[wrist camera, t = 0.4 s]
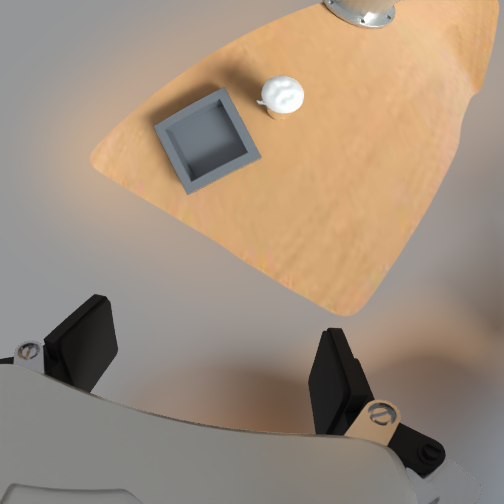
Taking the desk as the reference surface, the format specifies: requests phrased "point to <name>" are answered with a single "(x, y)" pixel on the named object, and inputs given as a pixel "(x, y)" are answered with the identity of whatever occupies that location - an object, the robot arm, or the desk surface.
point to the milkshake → (281, 96)
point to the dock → (207, 141)
